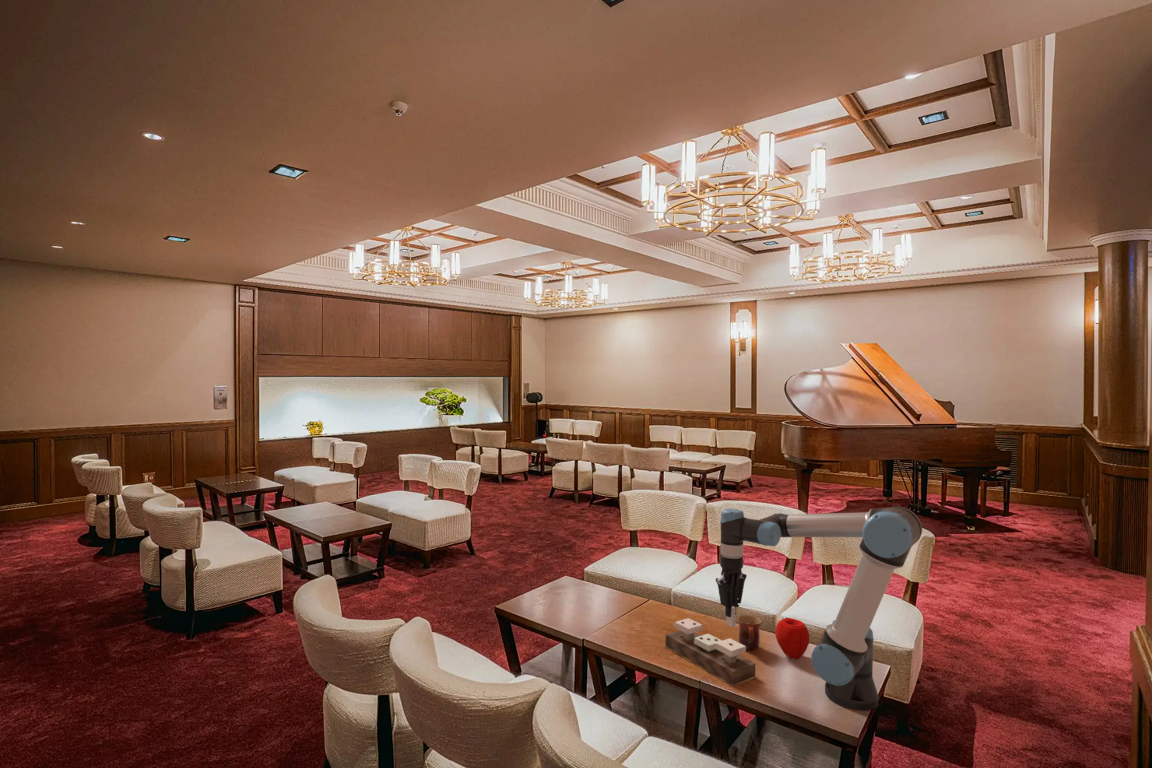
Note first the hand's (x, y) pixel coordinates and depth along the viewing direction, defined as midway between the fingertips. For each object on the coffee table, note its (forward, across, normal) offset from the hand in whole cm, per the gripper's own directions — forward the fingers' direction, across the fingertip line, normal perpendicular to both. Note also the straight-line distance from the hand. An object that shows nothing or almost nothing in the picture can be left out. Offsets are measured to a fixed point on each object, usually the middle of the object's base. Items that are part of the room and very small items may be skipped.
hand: (730, 625), depth 191 cm
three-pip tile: (+15, 0, -10) cm, 18 cm away
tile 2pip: (+13, 0, -20) cm, 24 cm away
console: (+16, 0, -10) cm, 19 cm away
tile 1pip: (+13, 0, 0) cm, 13 cm away
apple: (+16, -29, +3) cm, 33 cm away
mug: (+16, -20, -9) cm, 28 cm away
